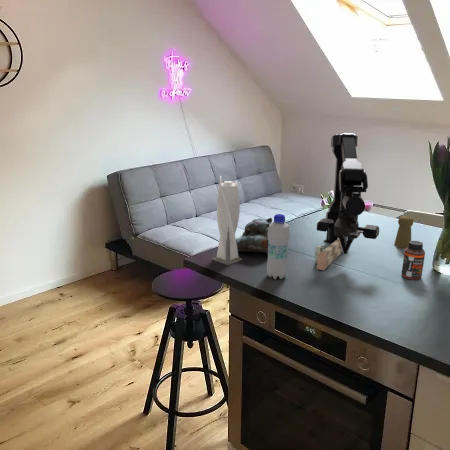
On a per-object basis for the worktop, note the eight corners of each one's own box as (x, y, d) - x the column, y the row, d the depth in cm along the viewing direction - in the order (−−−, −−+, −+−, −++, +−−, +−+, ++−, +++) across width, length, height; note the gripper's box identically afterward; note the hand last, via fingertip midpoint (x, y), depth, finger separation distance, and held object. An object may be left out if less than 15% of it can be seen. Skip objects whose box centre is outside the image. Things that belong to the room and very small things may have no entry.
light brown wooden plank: (334, 252, 175) (335, 239, 174) (341, 254, 174) (342, 240, 173) (316, 268, 161) (317, 254, 160) (324, 270, 160) (325, 255, 159)
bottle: (289, 273, 158) (292, 212, 152) (285, 282, 152) (288, 218, 146) (268, 271, 160) (271, 210, 154) (263, 279, 154) (265, 216, 148)
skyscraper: (209, 258, 170) (209, 176, 162) (226, 252, 176) (226, 173, 167) (228, 265, 165) (229, 181, 156) (244, 258, 170) (246, 177, 162)
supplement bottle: (411, 282, 153) (416, 247, 150) (397, 275, 158) (401, 241, 155) (425, 278, 156) (430, 244, 153) (410, 271, 161) (415, 238, 158)
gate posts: (313, 264, 166) (314, 244, 164) (338, 251, 178) (340, 232, 176) (319, 266, 165) (321, 245, 163) (344, 253, 177) (346, 234, 174)
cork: (412, 249, 181) (416, 219, 178) (395, 247, 182) (398, 218, 179) (410, 243, 187) (413, 215, 183) (393, 242, 188) (396, 214, 185)
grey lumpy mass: (225, 250, 177) (232, 212, 180) (252, 258, 184) (258, 221, 186) (252, 250, 165) (259, 209, 168) (279, 258, 172) (286, 219, 174)
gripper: (312, 209, 155) (309, 256, 160) (374, 217, 147) (369, 267, 152) (323, 201, 165) (320, 246, 169) (381, 208, 157) (376, 255, 161)
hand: (345, 253), depth 163 cm, fingers closed
